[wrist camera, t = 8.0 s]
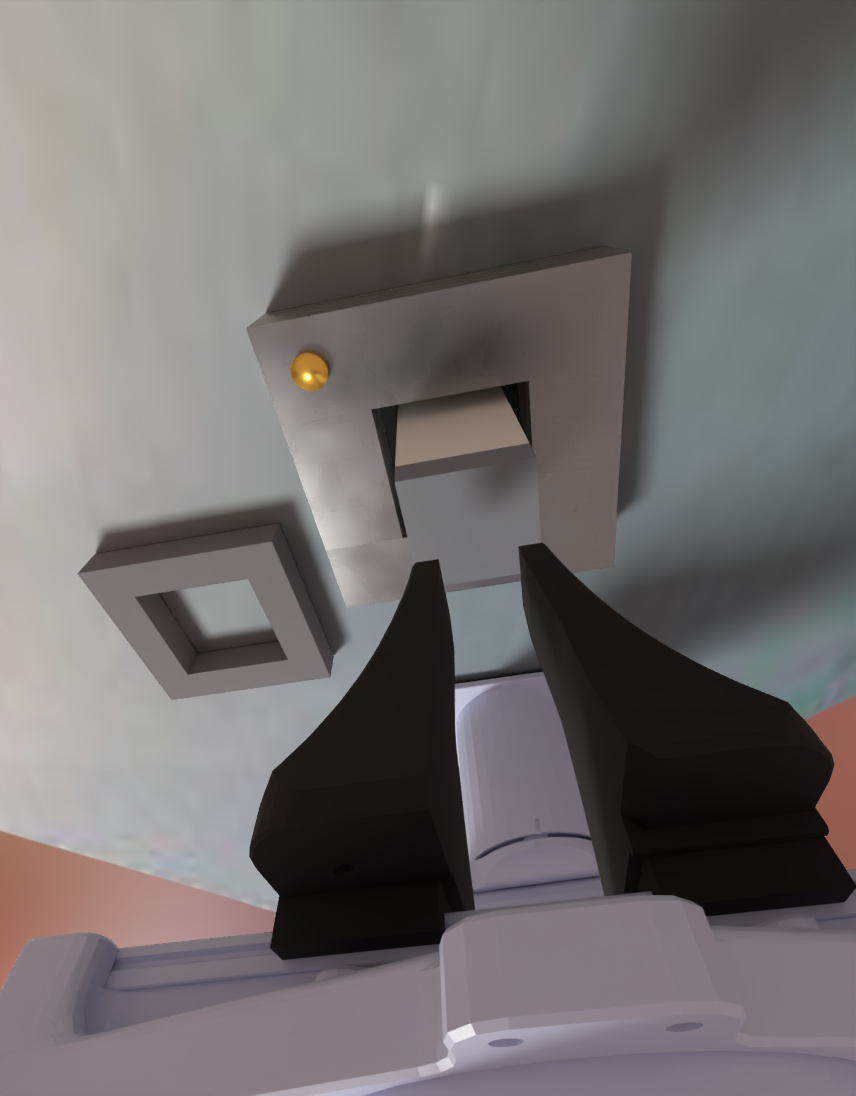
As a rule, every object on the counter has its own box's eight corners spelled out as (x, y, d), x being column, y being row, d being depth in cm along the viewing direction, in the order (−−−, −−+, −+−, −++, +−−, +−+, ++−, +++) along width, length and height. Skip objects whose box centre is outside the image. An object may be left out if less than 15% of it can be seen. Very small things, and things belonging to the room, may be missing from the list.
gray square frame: (333, 656, 28) (330, 677, 27) (181, 678, 28) (171, 699, 27) (278, 523, 23) (271, 541, 21) (95, 554, 23) (77, 573, 22)
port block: (595, 535, 24) (616, 570, 21) (351, 573, 24) (345, 612, 22) (604, 246, 17) (635, 253, 14) (264, 313, 18) (243, 330, 15)
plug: (506, 472, 22) (542, 570, 16) (416, 488, 22) (420, 589, 16) (498, 381, 19) (536, 457, 14) (398, 400, 20) (394, 482, 14)
